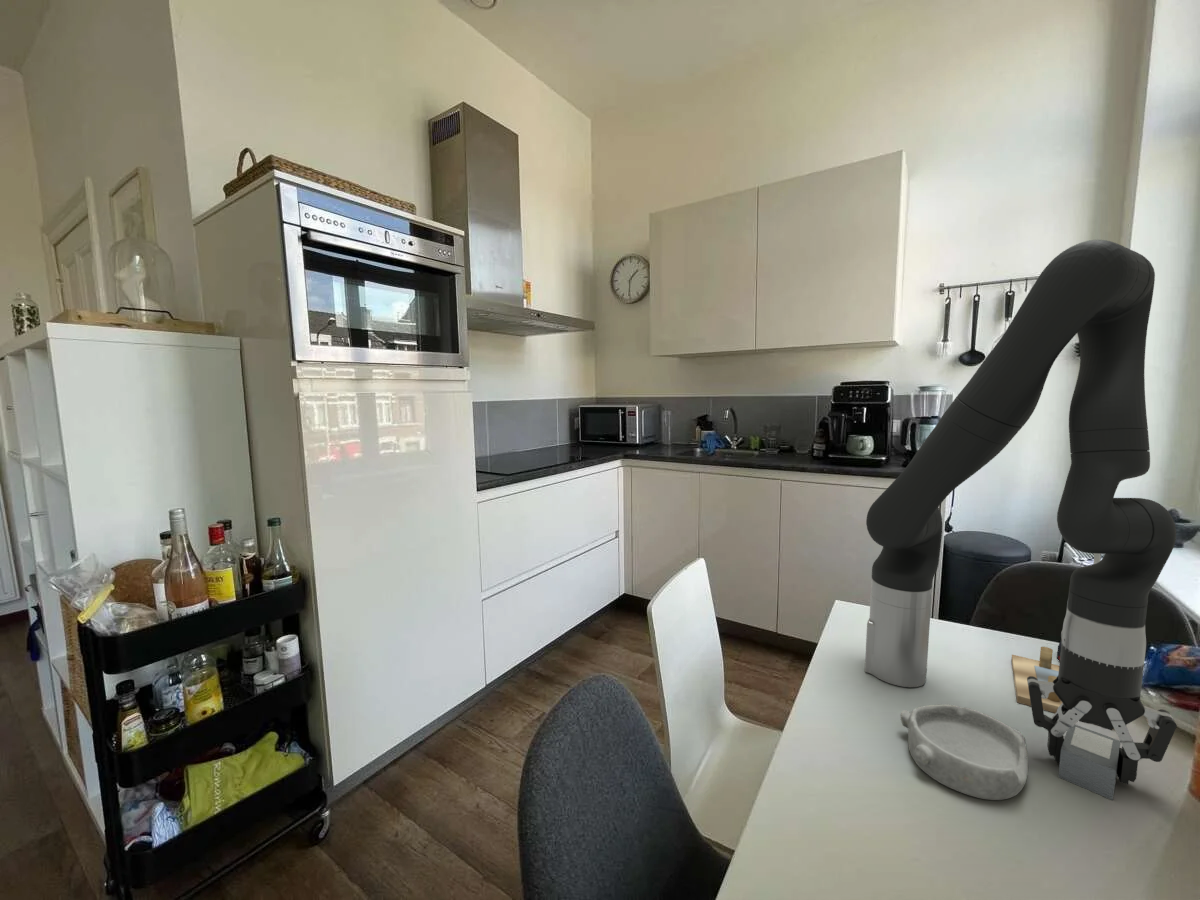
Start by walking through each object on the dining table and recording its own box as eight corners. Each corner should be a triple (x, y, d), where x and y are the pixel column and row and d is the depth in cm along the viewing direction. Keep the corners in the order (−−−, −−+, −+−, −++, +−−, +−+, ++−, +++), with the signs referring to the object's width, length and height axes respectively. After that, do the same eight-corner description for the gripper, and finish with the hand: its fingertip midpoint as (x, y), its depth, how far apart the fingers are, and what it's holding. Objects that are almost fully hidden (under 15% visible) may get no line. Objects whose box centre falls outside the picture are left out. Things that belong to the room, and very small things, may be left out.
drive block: (1058, 777, 65) (1061, 748, 64) (1067, 748, 70) (1069, 721, 69) (1112, 800, 61) (1116, 770, 60) (1117, 768, 66) (1120, 740, 66)
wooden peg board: (1122, 731, 73) (1125, 702, 73) (1017, 702, 80) (1019, 675, 80) (1100, 682, 86) (1103, 656, 85) (1011, 660, 93) (1013, 636, 92)
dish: (1018, 752, 69) (1021, 719, 69) (1044, 826, 58) (1048, 787, 57) (898, 719, 77) (900, 689, 76) (900, 778, 65) (902, 743, 64)
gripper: (1030, 644, 65) (1020, 762, 67) (1196, 681, 56) (1179, 815, 58) (1025, 623, 71) (1016, 732, 73) (1175, 653, 62) (1160, 776, 64)
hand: (1089, 768), depth 65 cm, fingers closed on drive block, 5 cm apart
